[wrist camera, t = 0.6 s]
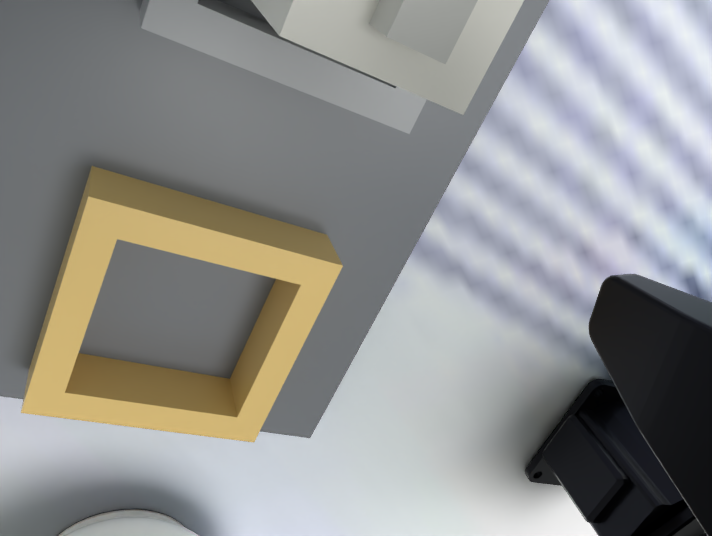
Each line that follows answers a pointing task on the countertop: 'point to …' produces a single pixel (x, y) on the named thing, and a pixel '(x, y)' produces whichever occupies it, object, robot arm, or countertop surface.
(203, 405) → the multicoloured flat piece
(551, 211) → the countertop surface
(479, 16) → the plug
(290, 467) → the countertop surface
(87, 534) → the lidded jar
